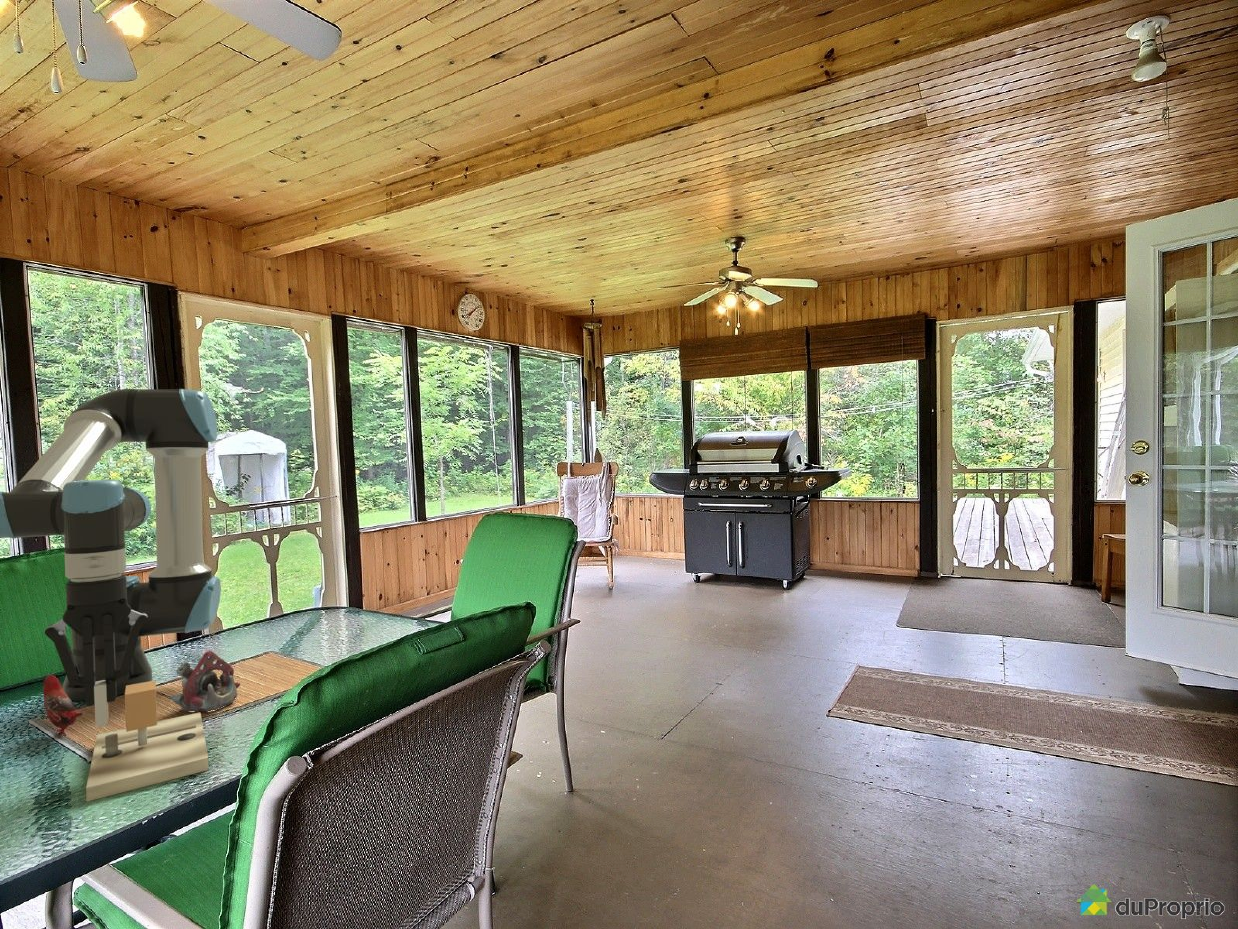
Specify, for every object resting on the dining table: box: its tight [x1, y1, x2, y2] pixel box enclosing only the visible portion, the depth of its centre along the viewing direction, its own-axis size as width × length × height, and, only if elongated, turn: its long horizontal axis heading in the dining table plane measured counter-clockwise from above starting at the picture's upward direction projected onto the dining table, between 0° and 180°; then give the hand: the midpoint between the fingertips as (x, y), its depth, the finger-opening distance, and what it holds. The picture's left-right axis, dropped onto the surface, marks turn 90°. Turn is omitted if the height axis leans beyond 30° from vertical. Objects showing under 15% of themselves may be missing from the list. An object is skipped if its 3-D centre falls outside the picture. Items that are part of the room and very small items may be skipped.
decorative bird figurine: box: [42, 674, 83, 736], centre depth 115 cm, size 3×18×10 cm, turn 57°
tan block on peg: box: [124, 679, 158, 746], centre depth 106 cm, size 5×4×10 cm
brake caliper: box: [169, 650, 241, 712], centre depth 129 cm, size 11×11×12 cm
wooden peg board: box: [85, 712, 209, 802], centre depth 107 cm, size 22×15×5 cm
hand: (102, 723), depth 103 cm, fingers closed
